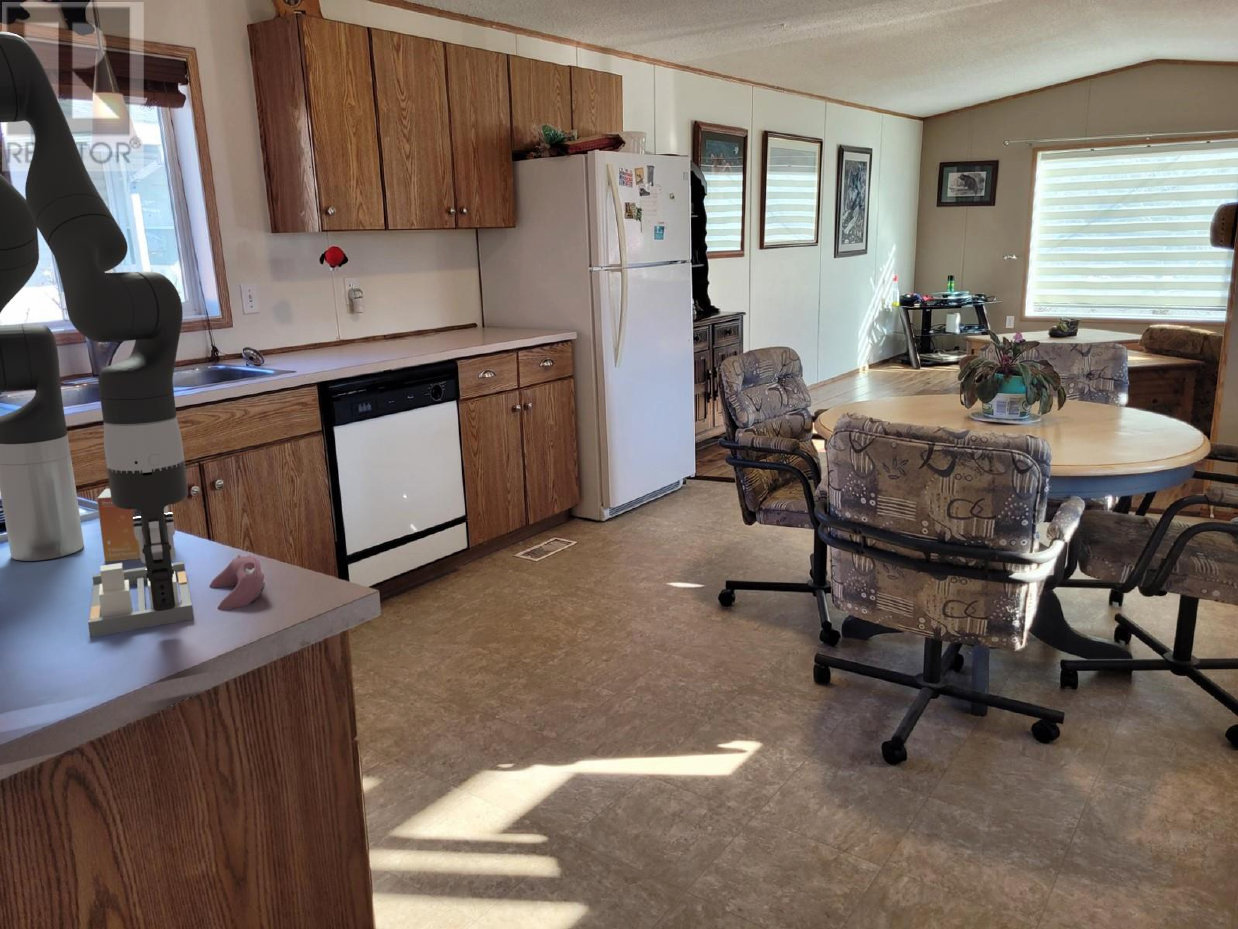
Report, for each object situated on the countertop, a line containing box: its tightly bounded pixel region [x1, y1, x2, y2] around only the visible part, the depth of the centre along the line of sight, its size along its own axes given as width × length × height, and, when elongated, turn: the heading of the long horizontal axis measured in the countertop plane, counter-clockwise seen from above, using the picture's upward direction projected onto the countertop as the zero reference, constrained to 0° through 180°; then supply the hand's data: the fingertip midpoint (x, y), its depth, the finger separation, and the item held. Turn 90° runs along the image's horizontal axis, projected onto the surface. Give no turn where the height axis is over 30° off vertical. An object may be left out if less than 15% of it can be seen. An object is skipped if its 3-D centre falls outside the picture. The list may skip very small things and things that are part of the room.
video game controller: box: [209, 554, 267, 611], centre depth 113 cm, size 10×5×7 cm, turn 31°
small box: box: [96, 488, 169, 563], centre depth 128 cm, size 8×6×10 cm
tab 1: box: [99, 562, 134, 617], centre depth 105 cm, size 4×3×6 cm
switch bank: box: [87, 561, 195, 637], centre depth 110 cm, size 20×11×3 cm, turn 28°
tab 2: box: [147, 571, 180, 609], centre depth 107 cm, size 4×3×6 cm
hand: (164, 607), depth 102 cm, fingers closed
